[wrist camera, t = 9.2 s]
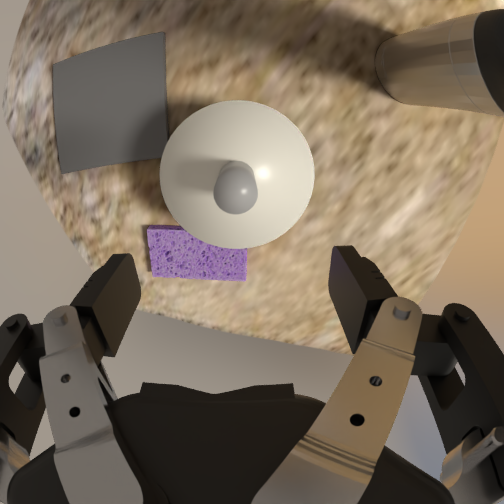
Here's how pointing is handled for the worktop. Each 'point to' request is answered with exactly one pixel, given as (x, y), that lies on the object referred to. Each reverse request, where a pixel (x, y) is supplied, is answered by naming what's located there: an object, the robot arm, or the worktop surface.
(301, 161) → the lid
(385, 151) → the worktop surface
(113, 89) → the mat
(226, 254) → the sponges
